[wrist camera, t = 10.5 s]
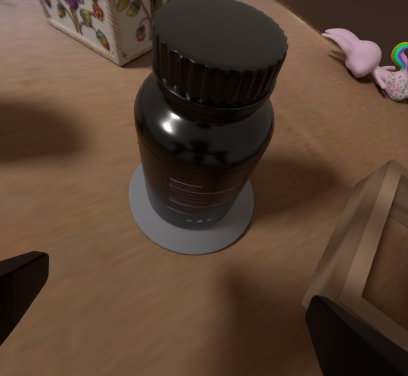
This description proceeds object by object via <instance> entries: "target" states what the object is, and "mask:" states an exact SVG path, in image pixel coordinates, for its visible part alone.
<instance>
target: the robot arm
mask: <svg viewBox="0 0 408 376" xmlns="http://www.w3.org/2000/svg"><path fill="white" fill-rule="evenodd" d="M48 274H49V255H48V254H47V253H45V252H38V251H32V252H29V253H26V254H22V255H19V256H16V257H12V258H9V259H6V260H3V261H0V346H1V344H2V343H3V342H4V341H5V340H6V338H7V337H8V336H9V335H10V333H11V332H12V331H13V329H14V328H15V327H16V325H17V324H18V323H19V321H20V320H21V318H22V317H23V315H24V314H25V312H26V311H27V309H28V308H29V307H30V305H31V304H32V302H33V301H34V299H35V298H36V296H37V295H38V293H39V292H40V290H41V289H42V288H43V286H44V285H45V283H46V281H47V279H48ZM305 319H306V323H307V327H308V330H309V333H310V336H311V339H312V343H313V346H314V349H315V352H316V355H317V359H318V362H319V365H320V368H321V370H322V373H323V376H408V352H407V351H406V350H404V349H403V348H401V347H400V346H398V345H397V344H395V343H394V342H392V341H391V340H389V339H388V338H386V337H385V336H383V335H382V334H380V333H379V332H378V331H376V330H375V329H373V328H372V327H370V326H369V325H367V324H366V323H364V322H363V321H361V320H360V319H358V318H357V317H355V316H354V315H352V314H351V313H350V312H348V311H347V310H345V309H344V308H342V307H341V306H339V305H338V304H336V303H335V302H333V301H332V300H330V299H329V298H327V297H325V296H320V295H314V296H313V297H312V298H311V301H310V303H309V306H308V309H307V312H306V316H305Z"/></svg>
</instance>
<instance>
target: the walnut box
mask: <svg viewBox="0 0 408 376" xmlns="http://www.w3.org/2000/svg"><path fill="white" fill-rule="evenodd" d="M388 215H390V216H391V217H393V218H394V219H396V220H397V221H399V222H400V223H402V224H404V225H405V226H407V227H408V169H407V168H406V167H404V166H402V165H401V164H399V163H397V162H396V161H394V160H390V161H389V162H387V163H386V164H384V165H383V166H382V167H380V168H379V169H377V170H376V171H374V172H373V173H372V174H370V175H369V176H367V177H366V178H364V179H363V180H362V181H360V182H359V183H357V184H356V185H355V187H354V190H353V192H352V194H351V196H350V198H349V200H348V202H347V205H346V207H345V209H344V211H343V213H342V215H341V217H340V220H339V222H338V224H337V226H336V228H335V230H334V232H333V235H332V237H331V239H330V241H329V243H328V245H327V247H326V250H325V252H324V254H323V256H322V258H321V260H320V262H319V265H318V267H317V269H316V271H315V273H314V275H313V277H312V280H311V282H310V284H309V286H308V288H307V290H306V292H305V294H304V297H303V299H302V301H301V303H300V304H301V305H302V306H303V307H304V308H306V309H308V306H309V303H310V301H311V298H312V297H313V296H314V295H320V296H325V297H327V298H329V299H330V300H332V301H333V302H335V303H336V304H338V305H339V306H341V307H342V308H344V309H345V310H347V311H348V312H350V313H351V314H352V315H354V316H355V317H357V318H358V319H360V320H361V321H363V322H364V323H366V324H367V325H369V326H370V327H372V328H373V329H375V330H376V331H378V332H379V333H380V334H382V335H383V336H385V337H386V338H388V339H389V340H391V341H392V342H394V343H395V344H397V345H398V346H400V347H401V348H403V349H404V350H406V351H407V352H408V331H406V330H405V329H404V328H402V327H401V326H400V325H398V324H397V323H396V322H394V321H393V320H392V319H390V318H389V317H388V316H386V315H385V314H384V313H382V312H381V311H380V310H378V309H377V308H376V307H374V306H373V305H372V304H370V303H369V302H368V301H366V300H365V299H364V298H362V297H361V295H362V292H363V289H364V286H365V283H366V280H367V277H368V274H369V271H370V268H371V265H372V262H373V259H374V256H375V253H376V250H377V247H378V244H379V241H380V237H381V234H382V231H383V228H384V225H385V222H386V219H387V216H388Z"/></svg>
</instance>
